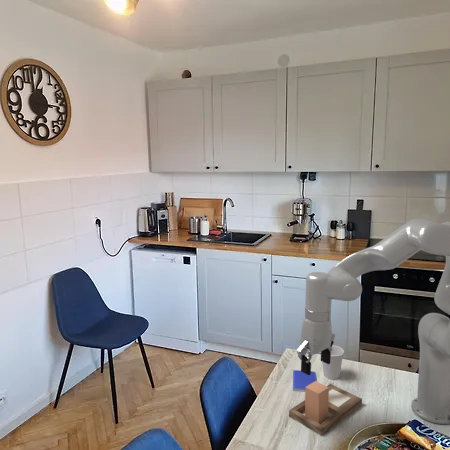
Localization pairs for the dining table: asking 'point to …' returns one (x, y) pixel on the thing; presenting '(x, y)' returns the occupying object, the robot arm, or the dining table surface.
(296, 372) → the hard drive
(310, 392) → the block
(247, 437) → the dining table surface
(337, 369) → the dixie cup
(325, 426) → the socket board
